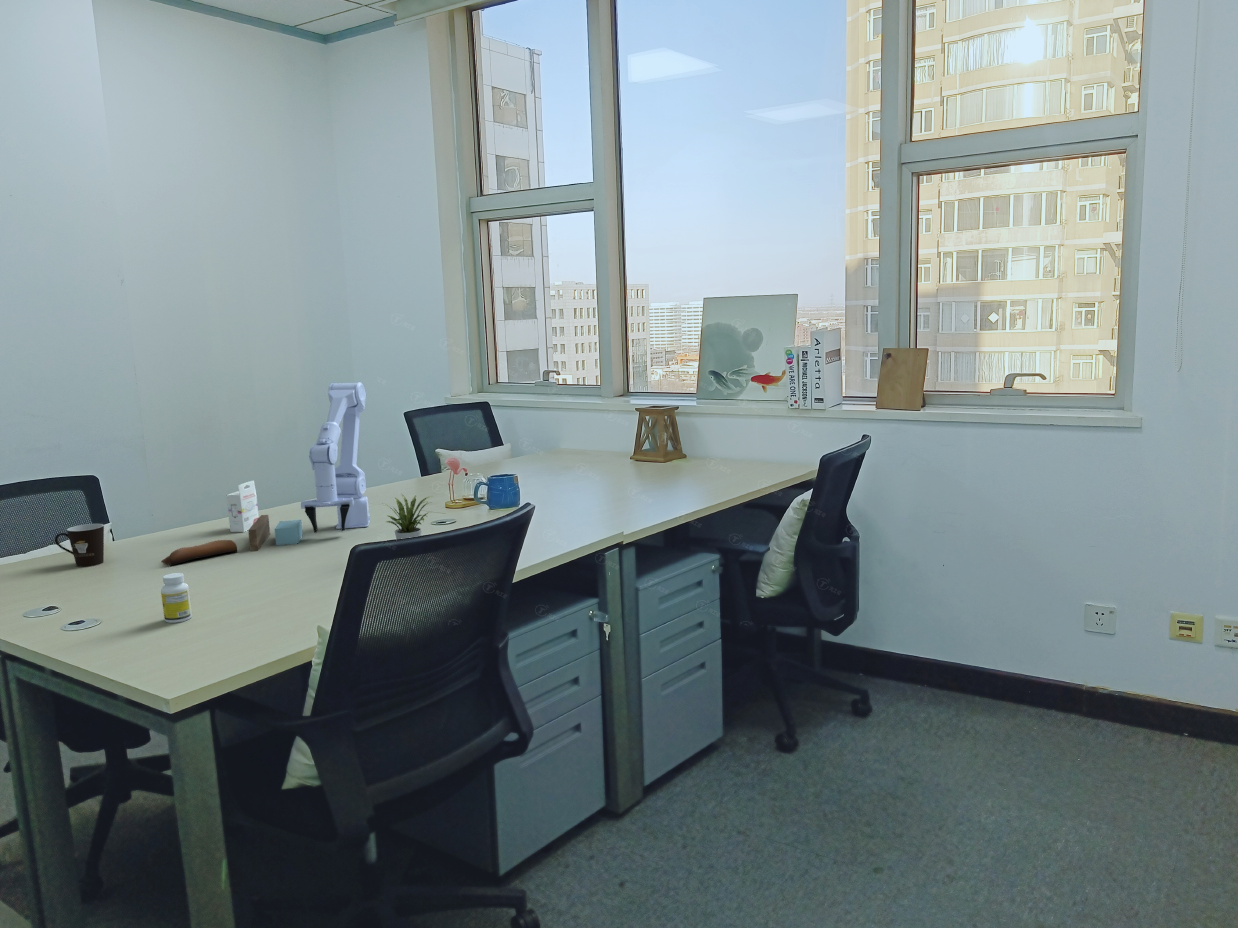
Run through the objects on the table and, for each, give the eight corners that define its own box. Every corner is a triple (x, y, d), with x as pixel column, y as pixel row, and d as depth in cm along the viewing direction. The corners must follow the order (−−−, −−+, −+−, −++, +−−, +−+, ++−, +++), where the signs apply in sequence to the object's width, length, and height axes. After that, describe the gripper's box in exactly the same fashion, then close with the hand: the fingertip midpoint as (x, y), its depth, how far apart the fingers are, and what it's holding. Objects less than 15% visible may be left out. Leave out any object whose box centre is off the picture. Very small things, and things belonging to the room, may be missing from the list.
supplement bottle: (170, 615, 201) (165, 572, 199) (196, 614, 201) (191, 571, 200) (160, 624, 195) (155, 579, 194) (186, 622, 196) (181, 578, 194)
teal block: (302, 536, 273) (301, 519, 272) (298, 544, 263) (296, 527, 263) (281, 537, 272) (279, 521, 271) (276, 545, 262) (274, 528, 261)
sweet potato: (224, 547, 261) (227, 529, 257) (235, 563, 257) (238, 545, 254) (158, 561, 248) (160, 542, 244) (168, 578, 244) (171, 559, 241)
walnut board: (270, 534, 276) (268, 514, 275) (257, 550, 257) (255, 529, 256) (263, 534, 276) (261, 515, 275) (250, 550, 256) (248, 529, 255)
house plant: (451, 548, 252) (447, 489, 250) (420, 561, 240) (416, 499, 237) (409, 544, 258) (405, 487, 256) (376, 556, 246) (372, 496, 243)
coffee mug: (115, 560, 250) (111, 524, 249) (88, 568, 242) (83, 531, 241) (83, 557, 254) (78, 522, 253) (55, 566, 246) (50, 529, 245)
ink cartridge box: (245, 525, 289) (241, 479, 286) (260, 526, 288) (255, 479, 285) (229, 532, 280) (224, 484, 278) (243, 532, 279) (239, 485, 277)
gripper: (297, 489, 262) (301, 535, 264) (350, 485, 265) (354, 532, 267) (301, 485, 269) (305, 530, 271) (352, 481, 272) (356, 526, 274)
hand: (329, 530), depth 269 cm, fingers open, 7 cm apart
